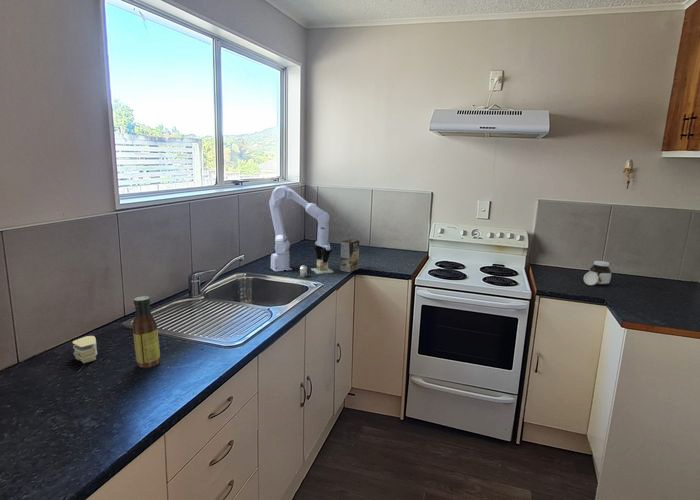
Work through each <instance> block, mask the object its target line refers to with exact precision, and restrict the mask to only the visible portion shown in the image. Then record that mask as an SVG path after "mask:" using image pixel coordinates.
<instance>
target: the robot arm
mask: <svg viewBox="0 0 700 500" xmlns="http://www.w3.org/2000/svg"><path fill="white" fill-rule="evenodd" d="M284 199H286V200H292V201H294V202H296V203H297V204H299V205H300V206H302V207H303V208H304V210H305V213H306V214H308V215H309V216H311V217H312V218H314V219H315V220H317V237H316V238H317V240H316V241H315V242H314V244H315V245H313V249H314V250H315V254H316V255H315V256H316V260H323V263H326V262H328V263H329V257H330V255H331V254H332V251H333V249H331V246H330V245H331V243H330V242H329V234H330V233H329V230H330V228H329V225H330V224H329V221H330V214H329V213H328V212H327V211H325V210H324V209H322V208H319V206H317V205H318V204H317V203H315V202H314V203H313V202H310V203H309V202H308V201H307V200H305V199H304V198H303V197H302V196H301V195H299V194H298V193H297V192H296V191H295V190H293V189H292V188H289V186H287V185H285V184H283V185H280V186H277V187H275V188H274V189H273V190H272V192H271V197H269V202H268V205H269V209H270V215H271V219H272V225H273V229H274V235H275V238H274V243H275V245H274V250H275V252H274V253H271V254H270V267H269V268H270V269H271V270H273V271H274V272H285V271H284V270H286V271H293V269H292V268H291V267H290V250H289V249H290V247H291V242H290V241H289V240H288V237H287V234H286V231H285V227H284V226H285V225H284V222H283V221H284V220H283V216H282V211H281V206H280V204H281V203H282V201H284Z"/></svg>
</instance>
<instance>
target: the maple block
mask: <svg viewBox="0 0 700 500" xmlns="http://www.w3.org/2000/svg"><path fill="white" fill-rule="evenodd" d="M316 268H317V270H319V271H327V270H328V268H329V261H328V262H326V263H323V259H316Z"/></svg>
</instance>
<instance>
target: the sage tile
mask: <svg viewBox="0 0 700 500" xmlns="http://www.w3.org/2000/svg"><path fill="white" fill-rule="evenodd" d="M310 271H312V272H313V271H314V273H315V274H316V275H322V274H324V273H325V274H332V273H334V272H335V271H334V270H333V269H331V268H329V267H328V270H327V271H319V270H317V267H313V268H310Z"/></svg>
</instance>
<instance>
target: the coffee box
mask: <svg viewBox="0 0 700 500" xmlns="http://www.w3.org/2000/svg"><path fill="white" fill-rule="evenodd" d="M359 253H360V240H358V239H351V238H350V239H346V240H342V241H340V263H339V264H340V265H339V271H341V272H347V273H351V272H354V271H357V270H359V257H360V256H359V255H360V254H359Z"/></svg>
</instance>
